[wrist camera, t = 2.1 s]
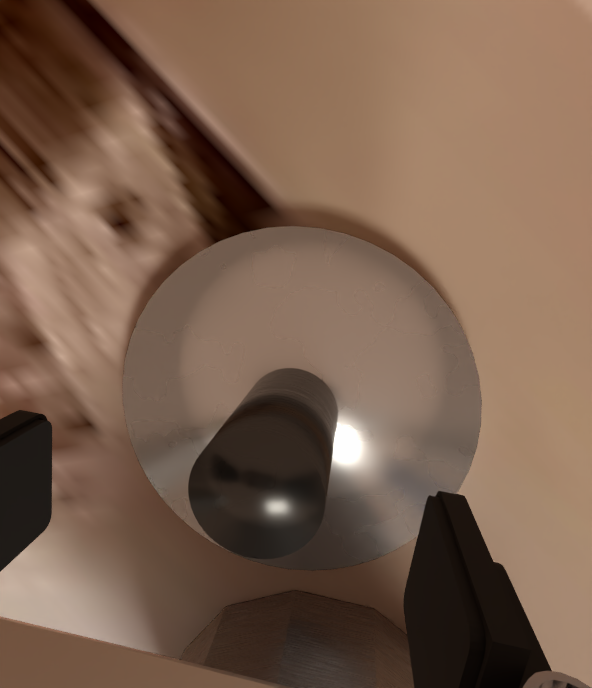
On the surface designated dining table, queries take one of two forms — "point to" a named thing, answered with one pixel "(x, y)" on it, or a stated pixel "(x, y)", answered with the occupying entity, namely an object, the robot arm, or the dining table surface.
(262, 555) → the lid
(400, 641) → the pot
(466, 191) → the dining table surface
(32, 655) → the robot arm
